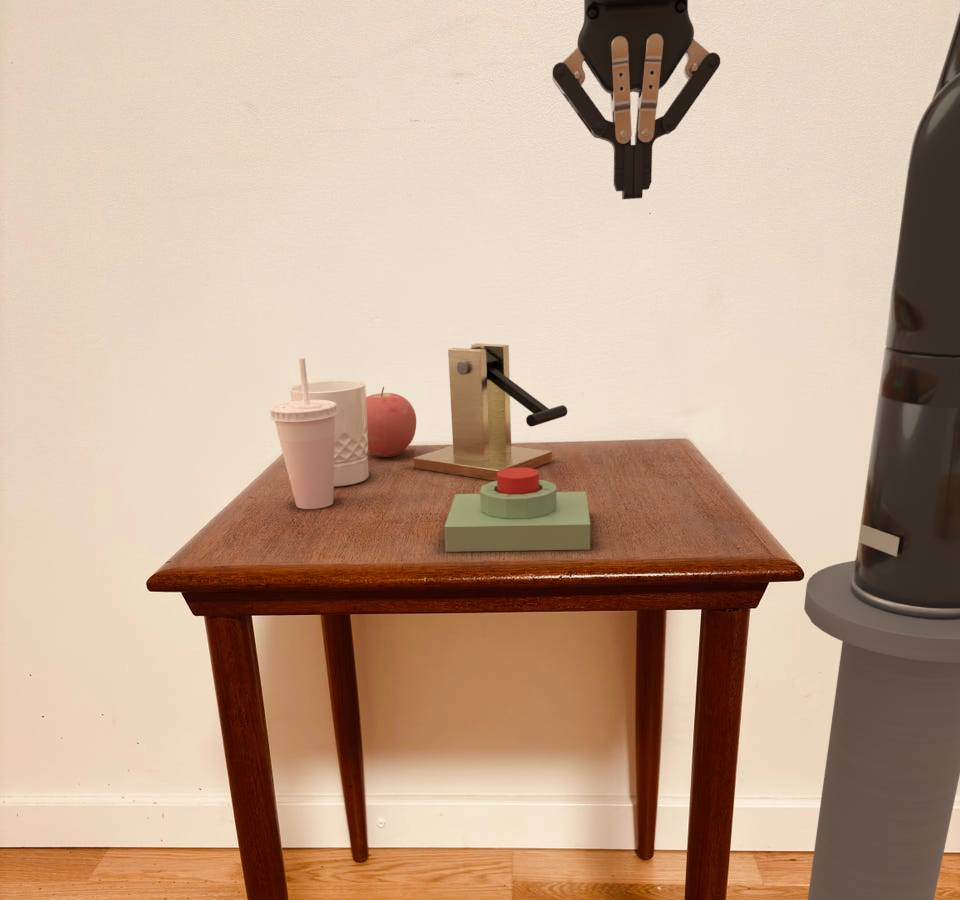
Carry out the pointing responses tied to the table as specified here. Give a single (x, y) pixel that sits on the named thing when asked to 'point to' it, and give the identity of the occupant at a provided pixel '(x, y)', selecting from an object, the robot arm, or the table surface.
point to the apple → (389, 424)
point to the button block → (518, 521)
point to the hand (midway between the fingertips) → (632, 198)
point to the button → (518, 481)
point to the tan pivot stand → (479, 420)
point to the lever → (522, 395)
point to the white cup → (344, 426)
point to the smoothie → (308, 446)
